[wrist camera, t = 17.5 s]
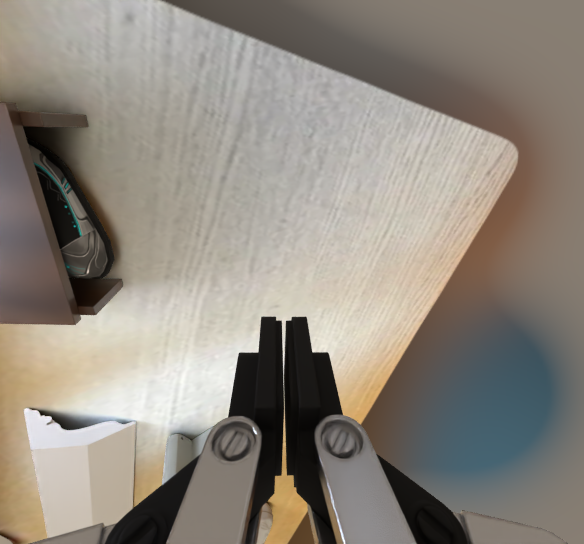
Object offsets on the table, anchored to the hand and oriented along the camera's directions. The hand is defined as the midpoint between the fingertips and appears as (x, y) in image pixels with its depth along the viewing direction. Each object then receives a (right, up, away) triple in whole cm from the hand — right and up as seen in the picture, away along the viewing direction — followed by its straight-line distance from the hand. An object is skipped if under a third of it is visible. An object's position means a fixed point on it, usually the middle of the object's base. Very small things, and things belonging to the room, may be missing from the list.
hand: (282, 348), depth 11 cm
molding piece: (-35, -32, +40) cm, 62 cm away
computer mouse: (-24, +10, +20) cm, 33 cm away
